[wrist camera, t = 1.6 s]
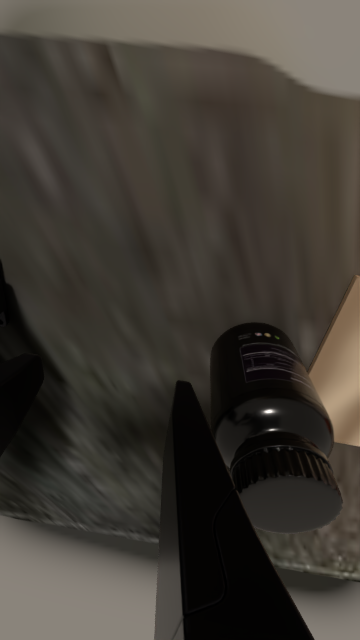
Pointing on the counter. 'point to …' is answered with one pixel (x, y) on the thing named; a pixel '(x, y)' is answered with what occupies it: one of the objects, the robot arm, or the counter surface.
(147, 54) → the counter surface
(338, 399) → the cork mat
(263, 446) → the supplement bottle
